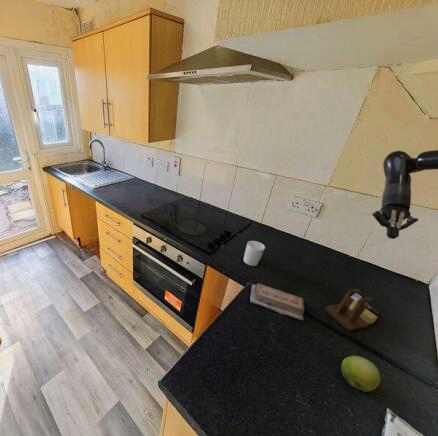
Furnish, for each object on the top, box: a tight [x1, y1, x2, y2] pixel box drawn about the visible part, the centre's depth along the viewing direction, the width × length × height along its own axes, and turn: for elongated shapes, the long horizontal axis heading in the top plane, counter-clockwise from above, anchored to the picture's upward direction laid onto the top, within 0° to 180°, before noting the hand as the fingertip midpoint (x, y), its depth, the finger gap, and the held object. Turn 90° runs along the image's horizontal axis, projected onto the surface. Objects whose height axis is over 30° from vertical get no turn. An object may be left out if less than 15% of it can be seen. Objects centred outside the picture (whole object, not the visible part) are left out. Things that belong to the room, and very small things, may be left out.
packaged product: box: [249, 283, 305, 321], centre depth 88 cm, size 18×5×10 cm
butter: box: [349, 300, 378, 325], centre depth 86 cm, size 4×8×3 cm, turn 13°
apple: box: [340, 355, 382, 393], centre depth 63 cm, size 8×9×8 cm
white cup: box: [243, 240, 266, 267], centre depth 110 cm, size 8×8×10 cm
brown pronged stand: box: [323, 288, 373, 332], centre depth 82 cm, size 9×10×12 cm
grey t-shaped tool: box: [351, 293, 382, 317], centre depth 83 cm, size 15×6×2 cm
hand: (392, 237), depth 84 cm, fingers closed
